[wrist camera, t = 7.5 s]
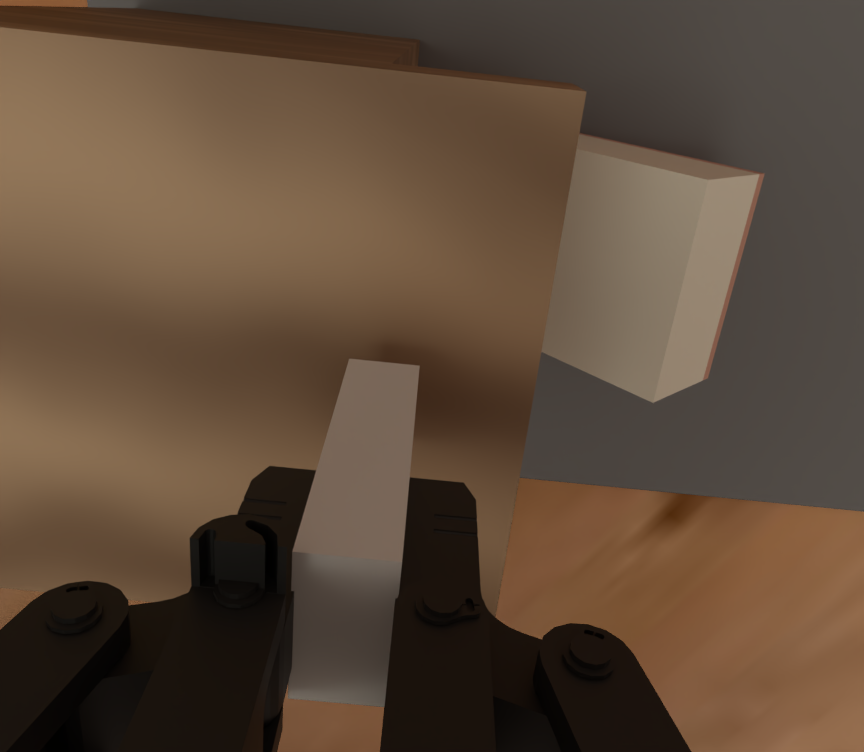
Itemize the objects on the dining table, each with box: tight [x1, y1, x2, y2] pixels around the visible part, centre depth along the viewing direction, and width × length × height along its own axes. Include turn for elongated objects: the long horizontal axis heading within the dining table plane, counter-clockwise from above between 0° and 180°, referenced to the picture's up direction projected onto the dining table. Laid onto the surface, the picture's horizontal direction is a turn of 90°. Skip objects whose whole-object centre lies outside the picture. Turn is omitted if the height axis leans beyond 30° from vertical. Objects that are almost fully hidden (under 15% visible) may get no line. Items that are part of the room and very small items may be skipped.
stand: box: [0, 6, 587, 617], centre depth 27 cm, size 14×16×20 cm
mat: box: [87, 0, 864, 511], centre depth 36 cm, size 28×44×1 cm, turn 84°
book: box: [541, 133, 765, 403], centre depth 31 cm, size 8×11×4 cm
